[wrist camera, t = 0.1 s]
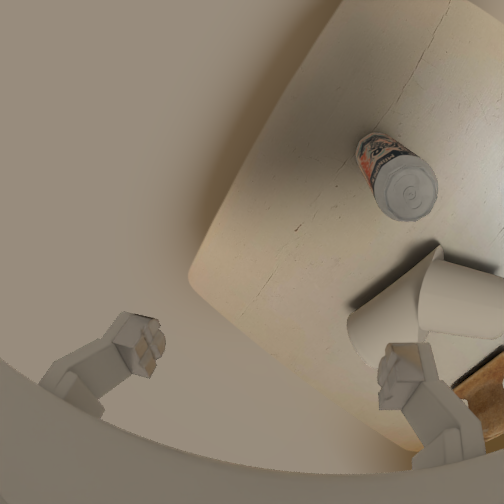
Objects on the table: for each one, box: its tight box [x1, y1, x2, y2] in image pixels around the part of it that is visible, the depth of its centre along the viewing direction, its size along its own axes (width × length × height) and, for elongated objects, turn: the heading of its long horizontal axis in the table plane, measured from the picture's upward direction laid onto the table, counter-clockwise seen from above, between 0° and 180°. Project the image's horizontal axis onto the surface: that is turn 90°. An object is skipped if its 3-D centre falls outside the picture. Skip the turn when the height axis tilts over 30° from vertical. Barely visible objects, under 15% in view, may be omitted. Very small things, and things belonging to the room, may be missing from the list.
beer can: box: [355, 132, 438, 222], centre depth 21 cm, size 5×5×12 cm
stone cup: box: [453, 351, 504, 442], centre depth 33 cm, size 15×12×15 cm
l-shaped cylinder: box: [347, 245, 504, 369], centre depth 29 cm, size 18×10×20 cm
